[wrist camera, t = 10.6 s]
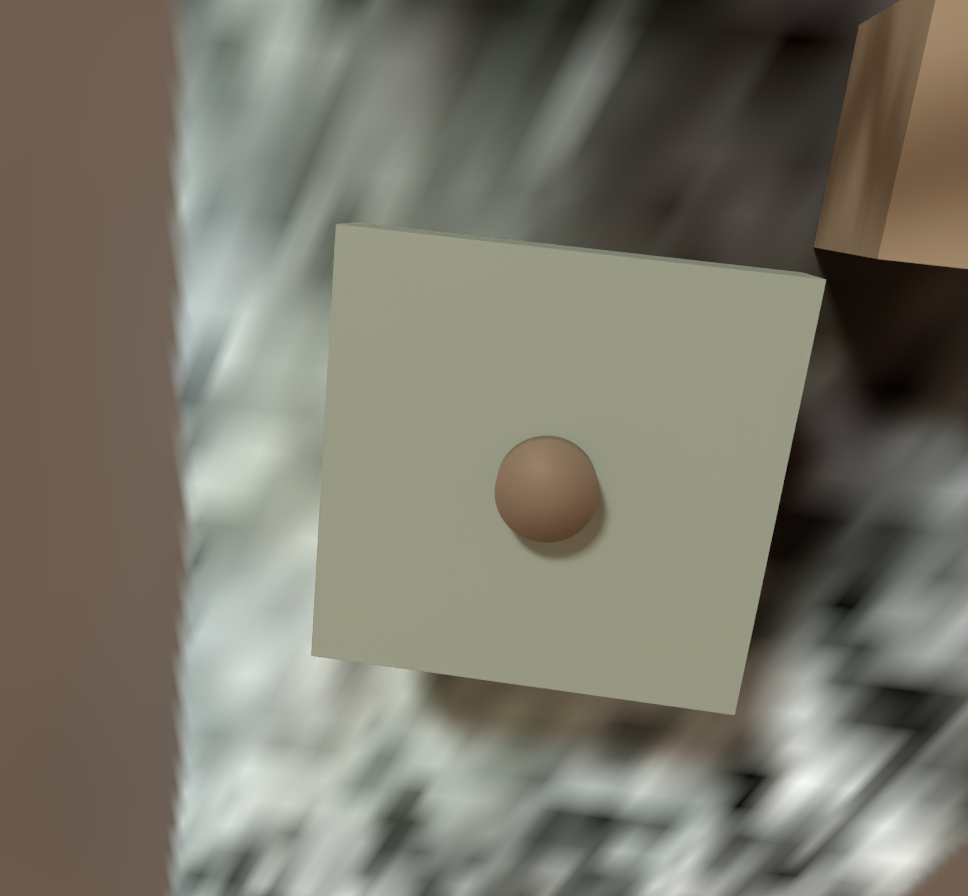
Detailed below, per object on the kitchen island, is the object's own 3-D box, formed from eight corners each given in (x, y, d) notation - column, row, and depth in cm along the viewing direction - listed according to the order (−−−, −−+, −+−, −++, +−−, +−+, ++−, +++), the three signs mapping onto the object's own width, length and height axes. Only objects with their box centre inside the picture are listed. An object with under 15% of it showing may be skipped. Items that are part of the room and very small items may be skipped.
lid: (356, 222, 22) (326, 224, 19) (802, 272, 21) (836, 283, 19) (330, 621, 25) (302, 671, 22) (721, 675, 24) (740, 733, 22)
